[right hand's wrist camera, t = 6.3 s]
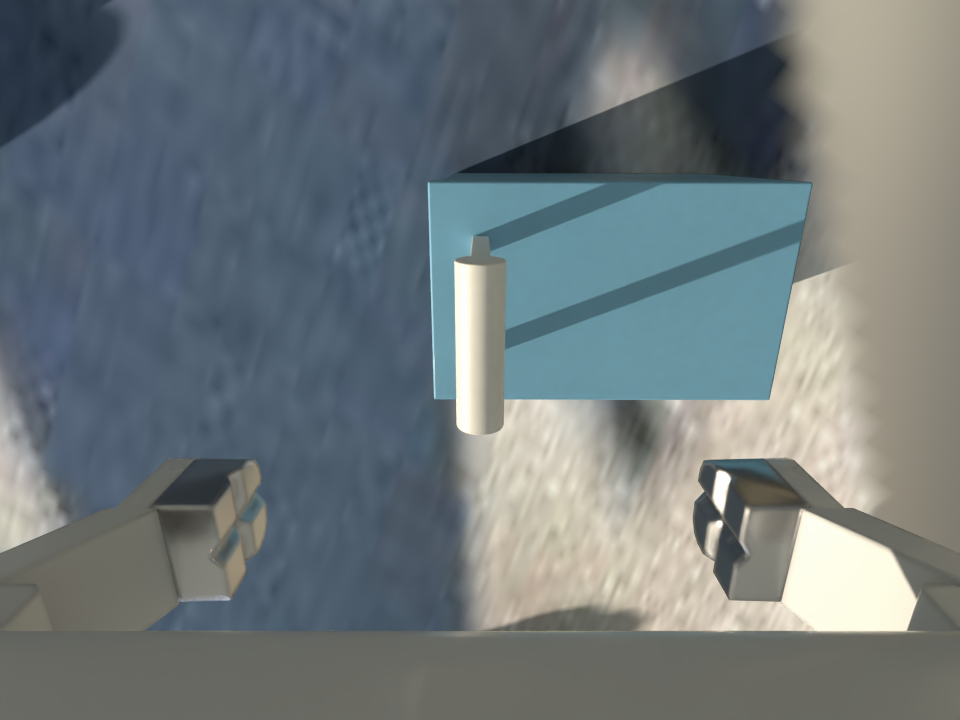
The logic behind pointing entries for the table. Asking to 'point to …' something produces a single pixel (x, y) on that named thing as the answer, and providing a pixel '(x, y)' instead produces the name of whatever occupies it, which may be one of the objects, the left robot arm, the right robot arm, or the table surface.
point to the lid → (608, 290)
